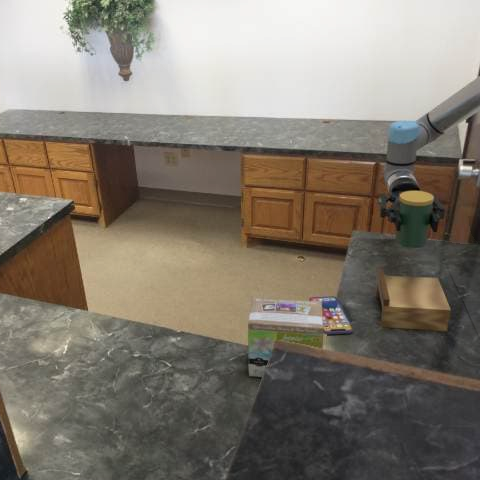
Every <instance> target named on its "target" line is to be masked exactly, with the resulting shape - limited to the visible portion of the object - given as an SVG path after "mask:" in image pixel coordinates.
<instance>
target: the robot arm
mask: <svg viewBox="0 0 480 480" xmlns="http://www.w3.org/2000/svg"><path fill="white" fill-rule="evenodd" d="M478 112H480V75H479V76H477V77H476V78H475V79H473V80H472V81H470V82H469V83H467V84H466V85H465V86H463V87H462V88H461V89H459V90H458V91H456V92H455V93H454V94H452V95H451V96H449V97H448V98H446V99H444V101H442V102H440V103H439V104H438V105H436V106H435V107H434V108H432V109H431V110H429V111H428V112H427V113H425V114H424V115H422V116H421V117H419V118H418V119H417V120H415V121H414V120H399V121H394V122H392V123H391V124H390V126H389V130H388V134H387V147H386V159H385V165H384V167H383V170H382V179H383V181H384V184H385V186H386V190H387V192H388V195H386V194H384V193H379V194H378V205H379V206H380V208H379V218H383V219H384V218H385V217H387V221H388V222H389V223H394V227H395V231H396V230H397V231H400V229H401V218H400V215H399V212H398V211H399V202H400V200H399V198H400V194H401V193H403V192H406V191H422V190H421V188H420V186H419V183H418V180H417V179H416V177H415V166H416V161H417V153H418V152H417V151H419V150H420V149H422V148H423V147H426V146H427V145H429V144H431V143H433V142H434V141H436V140H438V138H439V137H441V136H443V135H444V134H445V133H447V132H449V131H451V130H452V129H453V128H455V127H456V126H458V125H460V124H461V123H463V122H464V121H466V120H467V119H469V118H470V117H473V115H475V114H476V113H478ZM431 194H432V195H433V196H434V200H433V204H432V211H431V218H430V224H429V227H430V228H431V230H432V232H433V233H438V227H439V225H440V222H441V220H443V219H445V216H446V210H447V209H446V207H445V206H444V205H443V204H442V203H441V202H440V200H439V199H438V198H437V194H435V193H431ZM387 203H391V205H390V206H389V208H387Z"/></svg>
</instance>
